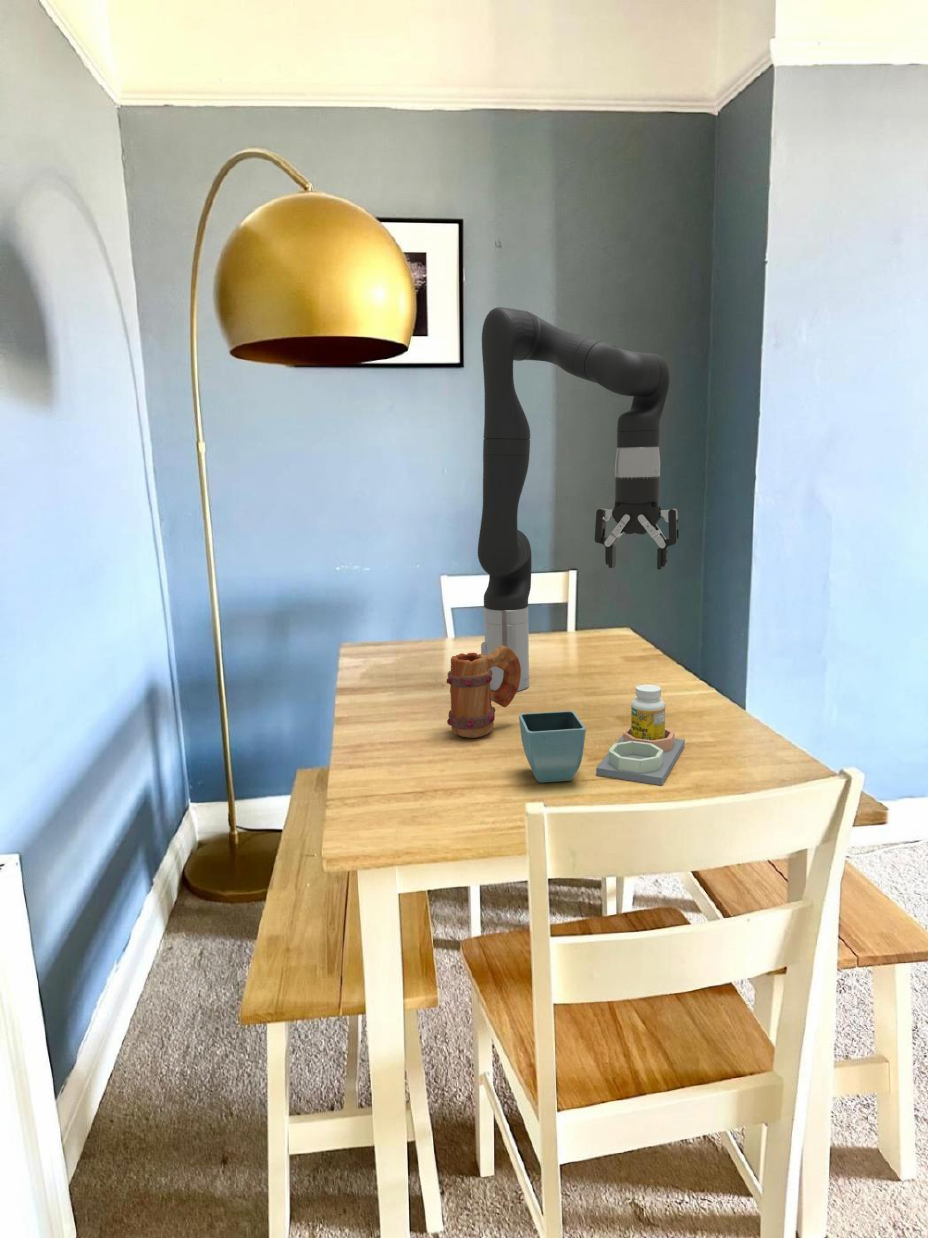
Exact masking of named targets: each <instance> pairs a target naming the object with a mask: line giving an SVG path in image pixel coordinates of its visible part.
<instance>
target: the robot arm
mask: <svg viewBox="0 0 928 1238" xmlns="http://www.w3.org/2000/svg"><path fill="white" fill-rule="evenodd" d="M481 354H482V355H481V356H482V367H483V370H482V371H483V383H484V384H483V385H484V421H483V422H484V424H483V442H482V447H483V449H482V467H483V468H482V511H481V519H480V528H479V536H478V541H477V542H478V544H477V557H478V562H479V565H480V566H481V568H482V569H483V571H484V572H485V573H487V574H488V575H489V577H488V578H489V579H488V584H487V588H486V590H485V591H484V594H483V614H484V615H483V621H484V626H483V627H484V641H483V642H481V645H480V654H484V655H489V654H491V653H492V652H493V651H494V650H495V649H496V647H498V646H501V645H503V646H506V647H508V648H510V649H512V650H513V652H514V653H515V654H516V656H517V657H518V659H519V662H520V666H521V678H520V683H519V687H518V690H517V692H519V691H522V690H525V689H528V687H529V686H530V663H529V662H530V659H529V658H530V655H529V654H530V653H529V649H530V648H529V647H530V646H529V645H530V644H529V639H530V638H529V596H530V593H531V590H532V589H531V588H532V548H531V544H530V541H529V539H528V537H527V536H526V535H525V533H524V532H522V531H521V530H519V529H518V512H519V511H518V508H519V503H520V500H521V499H520V498H521V494H522V492H523V490H524V489H523V488H524V485H525V481H526V478H527V474H528V472H529V471H528V470H529V463H530V452H531V450H530V449H531V429H530V425H529V421H528V419H527V416H526V413H525V411H524V408H523V407H522V405H521V402H520V400H519V398H518V394H517V392H516V387H515V381H514V361H516V362H520V361H536V362H537V361H538V362H546V363H551V364H554V365H556V366H557V367H559V368H560V369H561V370H563V371H564V372H566V373H568V374H570V375H572V376H575V377H577V378H580V379H583V380H585V381H588V382H591V383H595V384H598V385H599V386H601V387H603V388H604V389H606V390H607V391H610V392H612V393H614V394H617V395H620V396H626V397H633V398H632V403H631V406H630V409H629V410H628V411H627V412H624V413H622V414H620V416H618V419H617V427H616V429H617V431H616V432H617V433H616V455H615V462H614V463H615V464H614V465H615V467H614V507H613V509H607V508H604V507H603V508H602V507H601V508H599V509H597V510H596V512H595V513H596V514H595V527H594V529H595V530H594V542H595V543H596V544H601V545H603V546H604V549H605V551H604V552H605V554H604V556H605V559H604V561H605V562H604V563H605V565H608V569H614V568H616V561H617V559H616V558H617V555H616V554H617V553H616V552H617V546H616V545H615V544H616V542H618V540H619V538H621V536H622V535H623V534H624V533H625V535H633V534H638V535H646V534H648V536H650V537H651V538H652V539H653V541H655V544H657V546H658V547H657V549H656V550H657V551H656V552H657V553H656V555H657V556H656V570H659V571H662V570H663V569H664V568H665V567H666V566H667V565H668V557H669V556H668V555H669V551H668V550H669V547H670V546H673V545H676V544H677V543H679V542H680V529H679V528H680V525H679V524H680V523H679V510H678V508H675V507H674V508H672V509H661V507H660V492H661V491H660V490H661V489H660V487H661V484H660V483H661V456H660V421H661V417H662V415H663V412H664V408H665V403H666V400H667V396H668V392H669V388H670V370H669V366H668V364H667V361H666V360H665V358H664V357H662V356H661V355H660V354H657V353H652V352H651V353H650V352H641V351H632V350H627V349H621V348H619V347H618V346H616V345H615V344H613V343H611V342H609V341H606V340H603V339H598V338H595V337H591V336H587V335H585V334H580V333H575V332H571V331H566V330H563V329H562V328H559V327H557V326H555V325H553V324H551V323H550V322H548V321H546V320H544V319H543V318H541V317H539V316H538V315H535V314H534V313H532V312H530V311H527V310H524V309H523V310H521V309H518V308H517V309H516V308H510V307H502V306H500V307H499V306H498V307H493V308H492V309H491V310H490V311H489V312H488V313H487V315H486V317H485V319H484V321H483V325H482V330H481ZM611 517H612V518H613V520H614V521H615V523H616V526H615V527H614V529H613V530H612V531H611V532H610V534H609V535H608V537H607V536H606V529H607V522H608V521H610V518H611ZM661 517H662V518H664V519H663V520H664V521H665V522H666V523H668V538H666V536H665V535H664V534H663V532H662V530H661V528H660V527H659V526H658V524H657V523H658V522H659V520H661ZM491 671H492V681H491V682H490V690H491V691H495V690H497V689H498V688H499V687H500V685H501V683H502V681H503V674H504V671H503V670H502V669H500V668H498V667H496V666H495V667H491Z"/></svg>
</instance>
